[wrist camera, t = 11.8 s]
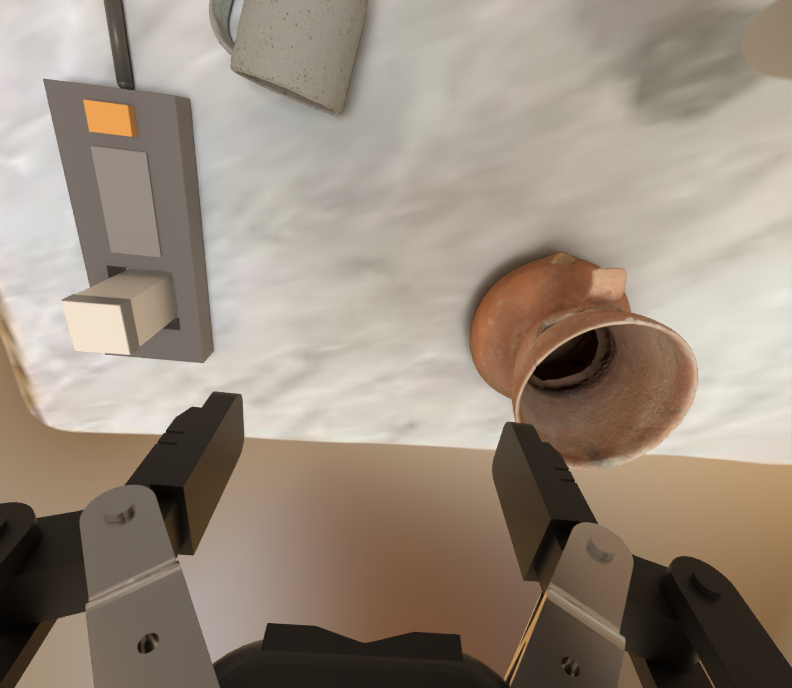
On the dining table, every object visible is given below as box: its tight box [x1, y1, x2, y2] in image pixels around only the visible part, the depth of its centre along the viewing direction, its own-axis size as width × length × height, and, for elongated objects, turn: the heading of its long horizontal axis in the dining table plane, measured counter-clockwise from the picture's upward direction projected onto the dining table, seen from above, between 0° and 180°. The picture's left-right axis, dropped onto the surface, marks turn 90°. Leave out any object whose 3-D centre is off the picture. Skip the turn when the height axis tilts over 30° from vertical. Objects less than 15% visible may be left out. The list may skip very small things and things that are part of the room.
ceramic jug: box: [470, 252, 698, 470], centre depth 34 cm, size 18×14×14 cm
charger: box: [62, 268, 179, 355], centre depth 34 cm, size 4×4×9 cm
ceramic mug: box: [209, 0, 367, 115], centre depth 26 cm, size 11×8×8 cm
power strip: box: [43, 0, 214, 363], centre depth 33 cm, size 29×9×3 cm, turn 173°
